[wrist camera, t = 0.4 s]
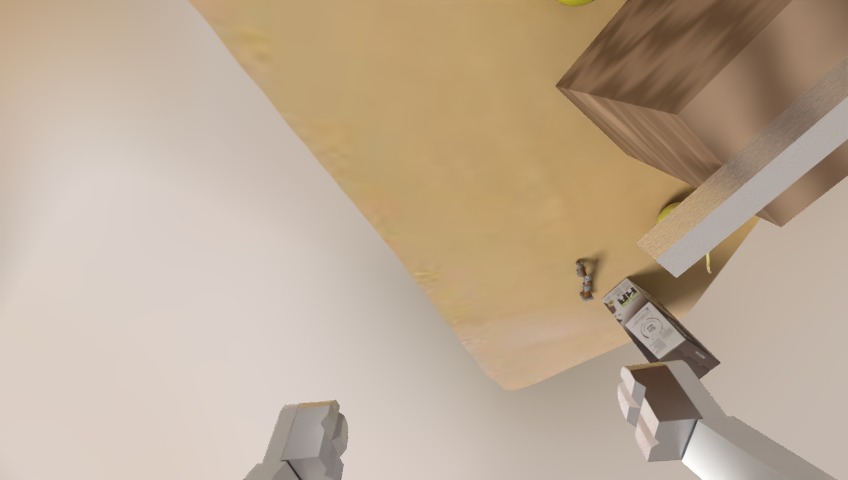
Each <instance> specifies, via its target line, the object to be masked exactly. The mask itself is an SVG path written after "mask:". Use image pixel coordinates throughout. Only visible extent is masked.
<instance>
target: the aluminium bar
mask: <svg viewBox="0 0 848 480" xmlns="http://www.w3.org/2000/svg"><path fill="white" fill-rule="evenodd" d="M847 139H848V54H847V55H846V56H845V57H844V58H843V59H842V60H841V61H840V62H838V63H837V64H836V65H835V66H834V67H833V68H832V69H831V70H829V71H828V72H827V73H826V74H825V75H824V76H823V77H822V78H820V79H819V80H818V81H817V82H816V83H815V84H814V85H813V86H812V87H810V88H809V89H808V90H807V91H806V92H805V93H804V94H803V95H801V96H800V97H799V98H798V99H797V100H796V101H795V102H794V103H792V104H791V105H790V106H789V107H788V108H787V109H786V110H785V111H783V112H782V113H781V114H780V115H779V116H778V117H777V118H776V119H774V120H773V121H772V122H771V123H770V124H769V125H768V126H767V127H766V128H764V129H763V130H762V131H761V132H760V133H759V134H758V135H757V136H755V137H754V138H753V139H752V140H751V141H750V142H749V143H748V144H746V145H745V146H744V147H743V148H742V149H741V150H740V151H739V152H737V153H736V154H735V155H734V156H733V157H732V158H731V159H730V160H729V161H727V162H726V163H725V164H724V165H723V166H722V167H721V168H720V169H718V170H717V171H716V172H715V173H714V174H713V175H712V176H711V177H709V178H708V179H707V180H706V181H705V182H704V183H703V184H702V185H700V186H699V187H698V188H697V189H696V190H695V191H694V192H693V193H691V194H690V195H689V196H688V197H687V198H686V199H685V200H684V201H683V202H681V203H680V204H679V205H678V206H677V207H676V208H675V209H674V210H672V211H671V212H670V213H669V214H668V215H667V216H666V217H665V218H663V219H662V220H661V221H660V222H659V223H658V224H657V225H656V226H654V227H653V228H652V229H651V230H650V231H649V232H648V233H647V234H646V235H644V236H643V237H642V238H641V239H640V240H639V241H638V242H637V243H635V244H637V245H638V246H639V247H640V248H641V249H643V250H644V251H645V252H646V253H647V254H648V255H650V256H651V257H652V258H653V259H654V260H656V261H657V262H658V263H659V264H660V265H661V266H663V267H664V268H665V269H666V270H667V271H669V272H670V273H671V274H672V275H673V276H675V277H676V278H677V277H679V276H680V275H681V274H682V273H684V272H685V271H686V270H687V269H688V268H690V267H691V266H692V265H693V264H695V263H696V262H697V261H698V260H699V259H701V258H702V257H703V256H704V255H706V254H707V253H708V252H709V251H711V250H712V249H713V248H714V247H715V246H717V245H718V244H719V243H720V242H722V241H723V240H724V239H725V238H727V237H728V236H729V235H730V234H731V233H733V232H734V231H735V230H736V229H738V228H739V227H740V226H741V225H743V224H744V223H745V222H746V221H747V220H749V219H750V218H751V217H752V216H754V215H755V214H756V213H757V212H759V211H760V210H761V209H762V208H763V207H765V206H766V205H767V204H768V203H770V202H771V201H772V200H773V199H775V198H776V197H777V196H778V195H779V194H781V193H782V192H783V191H784V190H786V189H787V188H788V187H789V186H791V185H792V184H793V183H794V182H795V181H797V180H798V179H799V178H800V177H802V176H803V175H804V174H805V173H807V172H808V171H809V170H810V169H811V168H813V167H814V166H815V165H816V164H818V163H819V162H820V161H821V160H823V159H824V158H825V157H826V156H827V155H829V154H830V153H831V152H832V151H834V150H835V149H836V148H837V147H839V146H840V145H841V144H842V143H843V142H845V141H846V140H847Z"/></svg>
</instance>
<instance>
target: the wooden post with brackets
mask: <svg viewBox="0 0 848 480" xmlns="http://www.w3.org/2000/svg"><path fill="white" fill-rule="evenodd" d="M576 265H577V267H578V270H576V271H577V275H578V276H579V277H582V276H583V277H584V279H583V280H584V283H583V292H581V293H580V296H581V297H582V299H583V301H584V302H585V301H588V300H591V299H594V298H593V296H592V294H591V292H590V291H589V290H590V287H591V285H590V284H591V280H592V279H591V277H590V275H587V274H586V272H585V270H584V268H583V266H582V264H581V263H580V261H578V262H576Z"/></svg>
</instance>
